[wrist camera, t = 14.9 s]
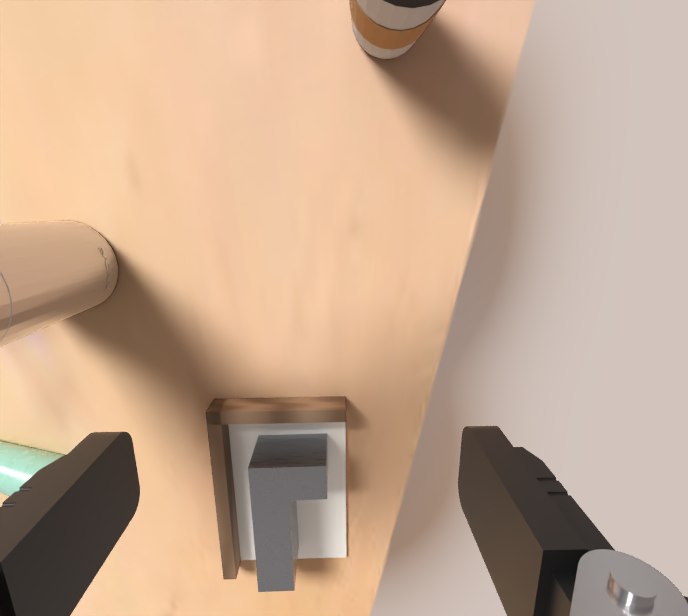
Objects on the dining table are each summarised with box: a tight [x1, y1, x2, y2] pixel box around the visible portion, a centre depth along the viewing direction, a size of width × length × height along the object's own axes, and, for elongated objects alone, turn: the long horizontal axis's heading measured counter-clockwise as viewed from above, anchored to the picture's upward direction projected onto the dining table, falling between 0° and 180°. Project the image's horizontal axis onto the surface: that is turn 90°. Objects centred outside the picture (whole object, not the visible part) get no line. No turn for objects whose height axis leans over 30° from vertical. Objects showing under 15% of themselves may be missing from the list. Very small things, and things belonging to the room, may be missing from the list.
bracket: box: [248, 433, 328, 592], centre depth 45 cm, size 16×8×6 cm, turn 1°
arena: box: [206, 397, 346, 579], centre depth 47 cm, size 15×22×3 cm, turn 0°
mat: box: [229, 422, 346, 560], centre depth 48 cm, size 14×21×1 cm, turn 1°
